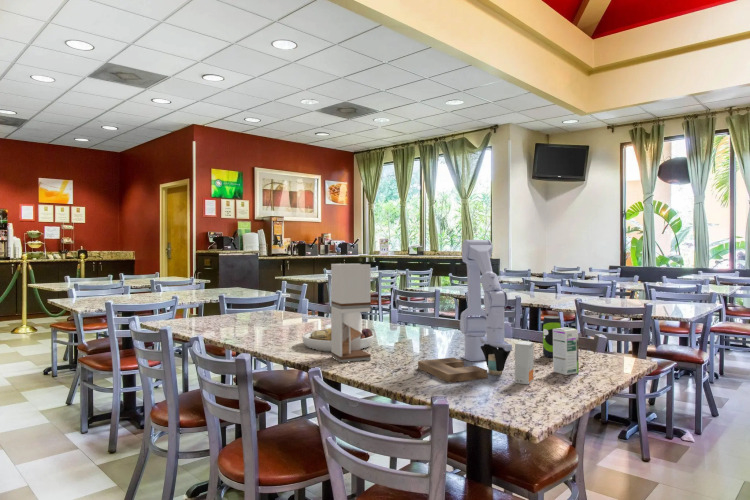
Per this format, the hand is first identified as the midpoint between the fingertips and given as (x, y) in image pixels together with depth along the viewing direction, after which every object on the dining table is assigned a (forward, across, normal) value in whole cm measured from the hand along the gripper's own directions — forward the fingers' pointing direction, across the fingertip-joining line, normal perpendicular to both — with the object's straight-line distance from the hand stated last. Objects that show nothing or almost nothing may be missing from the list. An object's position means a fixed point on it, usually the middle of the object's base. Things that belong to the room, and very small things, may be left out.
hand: (495, 369), depth 167 cm
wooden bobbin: (+1, 0, 0) cm, 1 cm away
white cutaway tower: (+2, -39, -36) cm, 53 cm away
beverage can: (+2, -13, +35) cm, 37 cm away
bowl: (+2, -65, -32) cm, 72 cm away
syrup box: (+2, +8, +22) cm, 23 cm away
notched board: (+1, -6, -13) cm, 14 cm away
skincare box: (+2, +12, +2) cm, 12 cm away
